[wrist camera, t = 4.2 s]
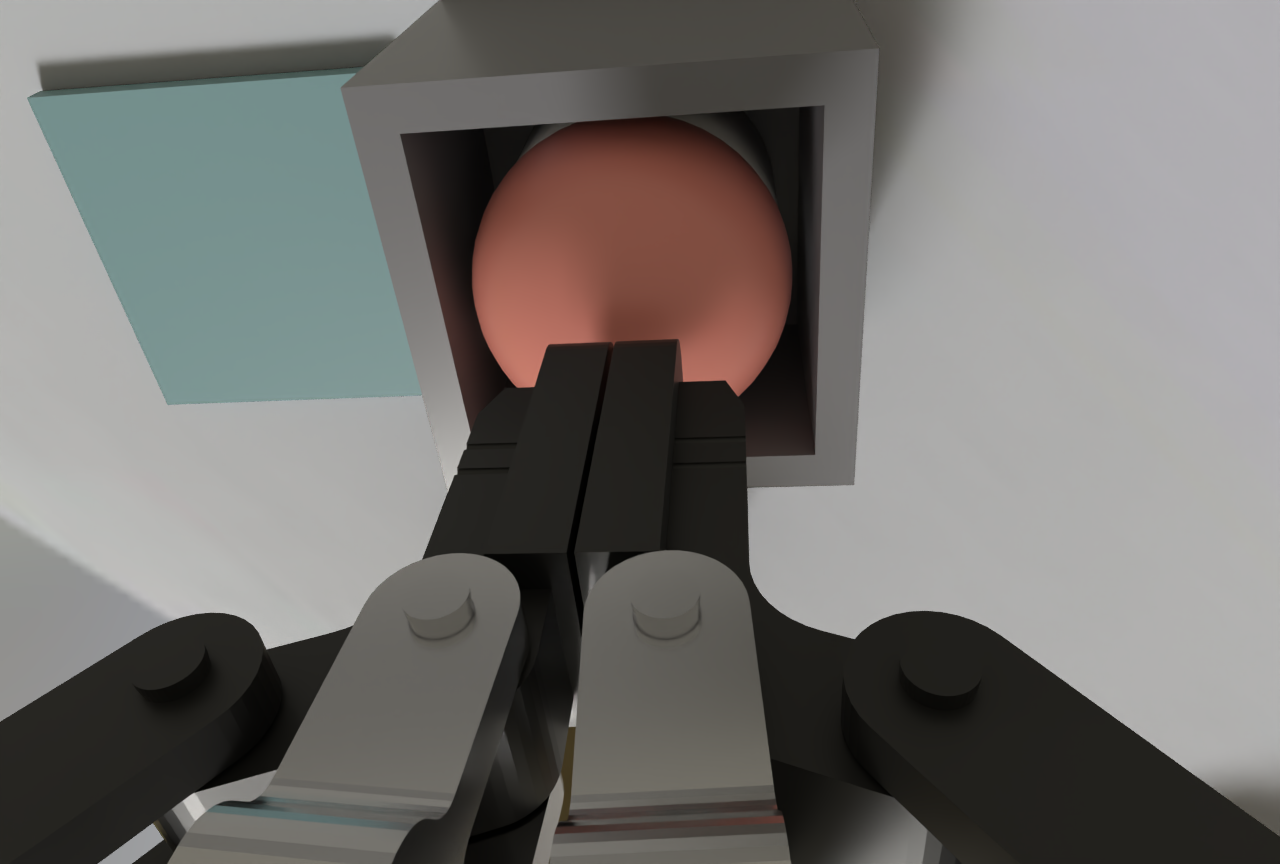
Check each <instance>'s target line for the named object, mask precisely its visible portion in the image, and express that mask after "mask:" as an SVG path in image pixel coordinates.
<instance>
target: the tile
mask: <svg viewBox="0 0 1280 864" xmlns="http://www.w3.org/2000/svg"><path fill="white" fill-rule="evenodd" d="M362 68H363V67H355V68H342V69H329V70H316V71H302V72H289V73H276V74H262V75H249V76H236V77H223V78H209V79H196V80H183V81H170V82H156V83H143V84H130V85H117V86H103V87H90V88H77V89H64V90H50V91H40V92H38V93H36V94H34V95H32V96H30V97H28V98H27V99H28V101H29V103H30V106H31V108H32V110H33V112H34V114H35V116H36V119H37V121H38V123H39V125H40V127H41V130H42V132H43V134H44V136H45V138H46V140H47V143H48V145H49V147H50V149H51V151H52V154H53V156H54V158H55V160H56V162H57V164H58V167H59V169H60V171H61V173H62V175H63V177H64V180H65V182H66V184H67V186H68V188H69V191H70V193H71V195H72V197H73V199H74V201H75V204H76V206H77V208H78V210H79V212H80V215H81V217H82V219H83V221H84V223H85V225H86V228H87V230H88V232H89V234H90V236H91V239H92V241H93V243H94V245H95V247H96V249H97V252H98V254H99V256H100V258H101V260H102V263H103V265H104V267H105V269H106V271H107V273H108V276H109V278H110V280H111V282H112V284H113V287H114V289H115V291H116V293H117V295H118V297H119V300H120V302H121V304H122V306H123V308H124V310H125V313H126V315H127V317H128V319H129V321H130V324H131V326H132V328H133V330H134V332H135V334H136V337H137V339H138V341H139V343H140V345H141V348H142V350H143V352H144V354H145V356H146V358H147V361H148V363H149V365H150V367H151V369H152V372H153V374H154V376H155V378H156V380H157V382H158V385H159V387H160V389H161V391H162V393H163V396H164V398H165V400H166V402H167V404H168V405H173V404H200V403H227V402H254V401H282V400H309V399H336V398H364V397H391V396H418V395H422V393H421V389H420V385H419V381H418V378H417V374H416V370H415V366H414V363H413V359H412V355H411V351H410V348H409V344H408V340H407V336H406V333H405V329H404V325H403V321H402V318H401V314H400V310H399V306H398V303H397V299H396V295H395V291H394V288H393V284H392V280H391V276H390V273H389V269H388V265H387V261H386V258H385V254H384V250H383V246H382V243H381V239H380V235H379V231H378V228H377V224H376V220H375V216H374V213H373V209H372V205H371V201H370V198H369V194H368V190H367V186H366V183H365V179H364V175H363V171H362V168H361V164H360V160H359V156H358V153H357V149H356V145H355V141H354V138H353V134H352V130H351V126H350V123H349V119H348V115H347V111H346V107H345V104H344V100H343V96H342V92H341V89H340V88H341V87H342V86H343V85H344V84H345V83H346V82H347V81H348V80H350V79H351V78H352V77H353V76H354V75H355V74H356V73H358V72H359V71H360V70H361V69H362Z"/></svg>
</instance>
